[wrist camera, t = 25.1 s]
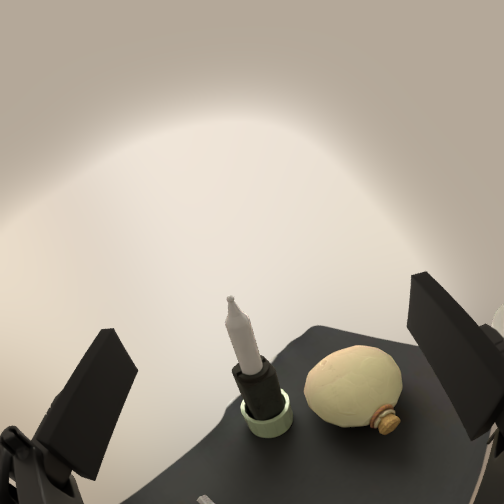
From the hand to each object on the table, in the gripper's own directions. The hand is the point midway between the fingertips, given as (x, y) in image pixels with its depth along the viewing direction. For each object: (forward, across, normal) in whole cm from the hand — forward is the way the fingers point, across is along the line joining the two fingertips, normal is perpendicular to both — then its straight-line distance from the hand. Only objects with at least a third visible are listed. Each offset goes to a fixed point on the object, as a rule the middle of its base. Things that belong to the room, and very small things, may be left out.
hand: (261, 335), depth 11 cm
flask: (+17, +10, -34) cm, 39 cm away
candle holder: (+18, -5, -34) cm, 39 cm away
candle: (+18, -5, -34) cm, 38 cm away
